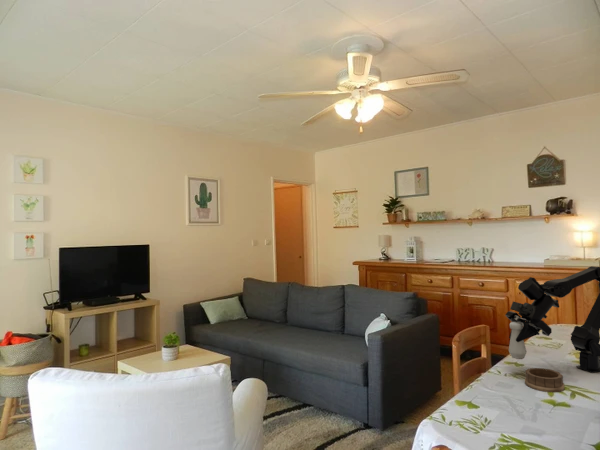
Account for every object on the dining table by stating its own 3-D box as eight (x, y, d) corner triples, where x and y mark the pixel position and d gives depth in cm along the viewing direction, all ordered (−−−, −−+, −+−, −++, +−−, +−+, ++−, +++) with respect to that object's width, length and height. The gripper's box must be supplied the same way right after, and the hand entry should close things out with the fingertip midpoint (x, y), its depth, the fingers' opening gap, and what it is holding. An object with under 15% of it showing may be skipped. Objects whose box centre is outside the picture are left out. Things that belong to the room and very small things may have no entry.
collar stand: (542, 377, 144) (542, 365, 144) (573, 389, 132) (572, 376, 133) (517, 381, 140) (516, 370, 140) (545, 394, 129) (545, 381, 129)
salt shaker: (529, 360, 144) (527, 324, 144) (512, 359, 145) (510, 324, 145) (523, 355, 149) (521, 320, 150) (507, 354, 151) (505, 320, 151)
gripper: (508, 290, 157) (483, 320, 156) (542, 297, 139) (514, 331, 137) (527, 309, 158) (503, 339, 157) (564, 318, 140) (536, 352, 138)
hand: (513, 339), depth 147 cm, fingers closed on salt shaker, 3 cm apart
